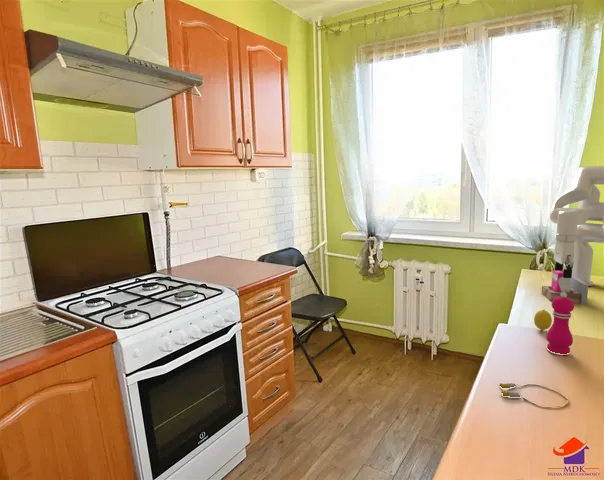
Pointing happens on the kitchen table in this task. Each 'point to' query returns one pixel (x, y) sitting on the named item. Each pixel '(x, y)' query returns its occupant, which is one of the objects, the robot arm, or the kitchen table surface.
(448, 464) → the kitchen table surface
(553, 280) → the supplement box
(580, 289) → the backstop wall
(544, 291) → the socket block
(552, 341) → the pepper mill
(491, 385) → the kitchen table surface
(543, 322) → the lemon
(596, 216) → the robot arm
